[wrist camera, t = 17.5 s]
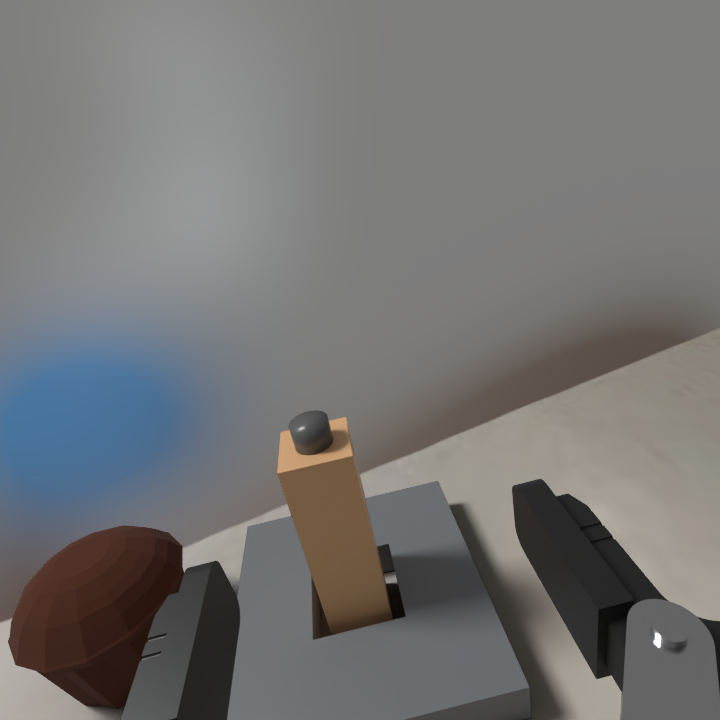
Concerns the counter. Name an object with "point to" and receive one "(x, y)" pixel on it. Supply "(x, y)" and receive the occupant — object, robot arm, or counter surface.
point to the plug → (333, 521)
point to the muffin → (96, 611)
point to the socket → (375, 629)
